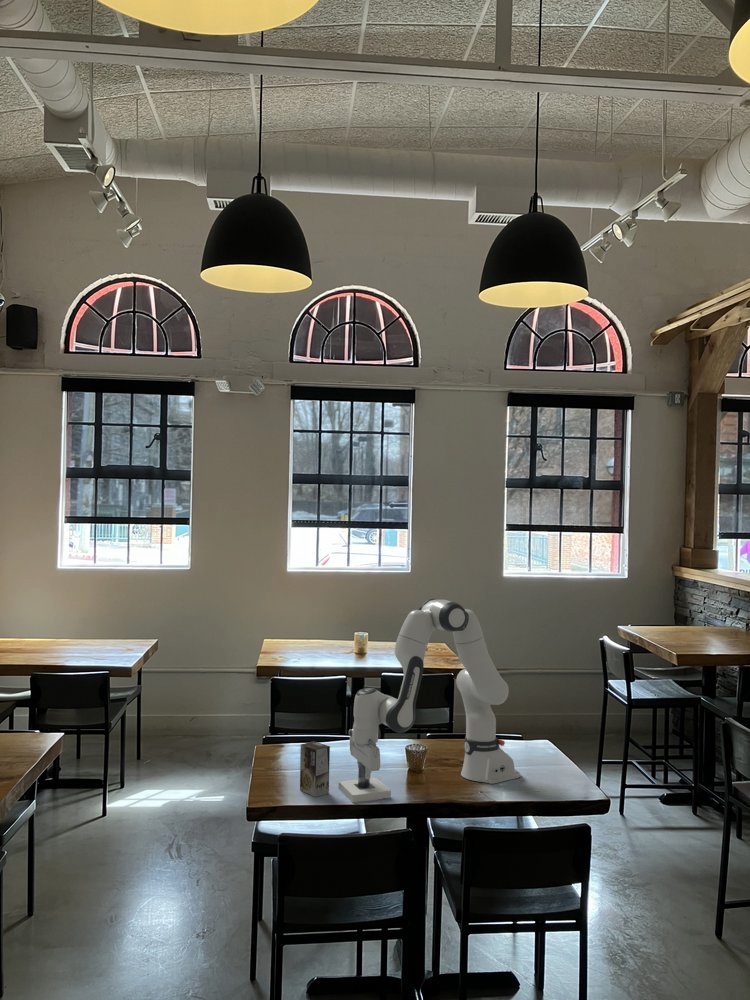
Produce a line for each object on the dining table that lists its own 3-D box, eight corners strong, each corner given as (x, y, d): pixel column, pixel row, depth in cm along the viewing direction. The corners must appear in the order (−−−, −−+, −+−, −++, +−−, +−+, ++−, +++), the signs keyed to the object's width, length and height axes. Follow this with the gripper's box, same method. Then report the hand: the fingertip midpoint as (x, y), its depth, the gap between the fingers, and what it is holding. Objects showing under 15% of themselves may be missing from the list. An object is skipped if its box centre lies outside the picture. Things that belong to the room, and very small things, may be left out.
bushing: (366, 783, 262) (367, 760, 262) (371, 787, 258) (371, 764, 259) (356, 785, 261) (357, 762, 261) (360, 789, 257) (361, 765, 257)
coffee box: (329, 793, 259) (330, 746, 259) (315, 797, 254) (316, 749, 255) (313, 786, 266) (314, 740, 266) (298, 790, 261) (300, 743, 262)
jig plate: (375, 784, 269) (375, 777, 269) (390, 797, 256) (390, 790, 256) (338, 788, 263) (338, 781, 263) (352, 802, 250) (352, 795, 251)
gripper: (385, 743, 252) (384, 785, 251) (363, 727, 271) (362, 766, 270) (368, 745, 249) (366, 786, 249) (346, 728, 268) (345, 767, 268)
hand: (364, 776), depth 260 cm, fingers closed on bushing, 4 cm apart
